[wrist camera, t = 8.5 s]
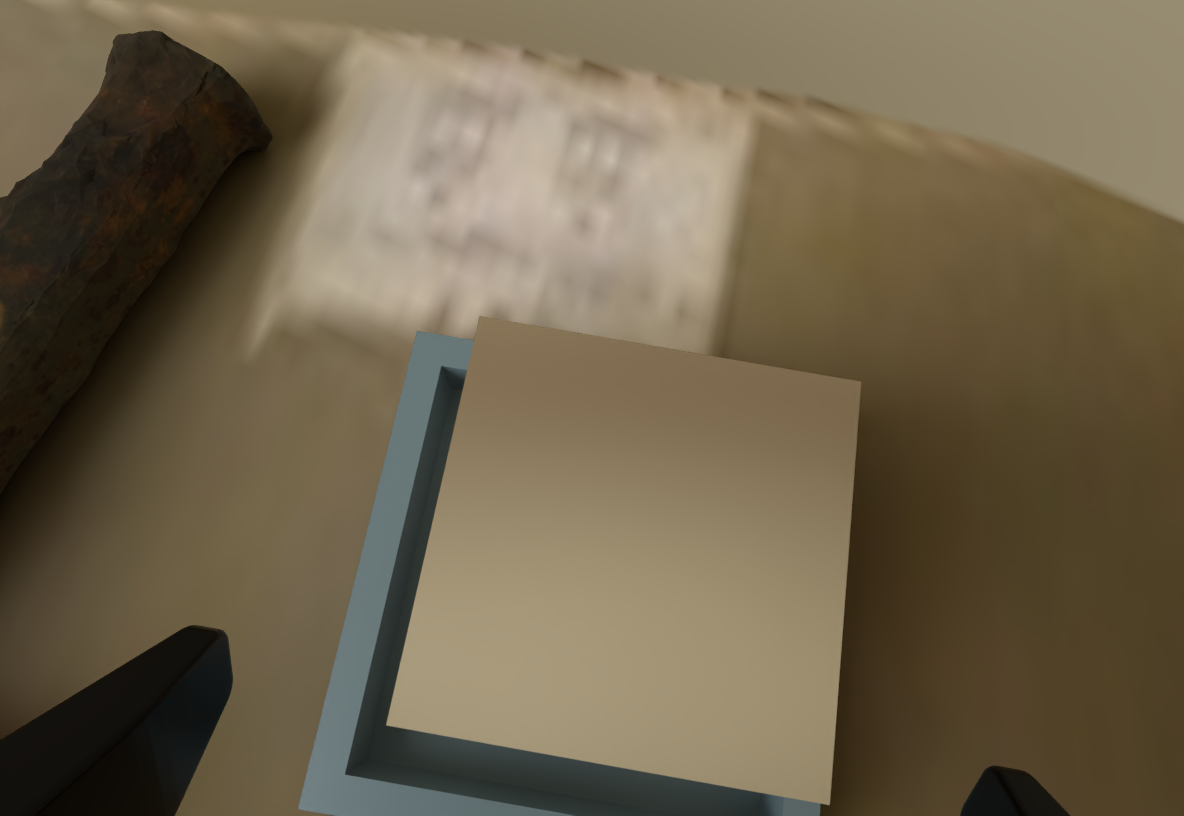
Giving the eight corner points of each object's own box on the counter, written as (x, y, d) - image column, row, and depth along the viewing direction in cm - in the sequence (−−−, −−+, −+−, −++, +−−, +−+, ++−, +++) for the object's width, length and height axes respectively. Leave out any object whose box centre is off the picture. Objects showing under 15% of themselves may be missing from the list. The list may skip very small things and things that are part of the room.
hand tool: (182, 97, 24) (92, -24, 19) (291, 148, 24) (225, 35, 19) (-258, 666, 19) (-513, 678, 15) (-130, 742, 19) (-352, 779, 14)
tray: (780, 865, 18) (813, 900, 16) (333, 785, 18) (298, 808, 16) (818, 429, 21) (850, 403, 19) (433, 363, 22) (417, 330, 19)
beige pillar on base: (677, 715, 19) (883, 878, 7) (477, 678, 19) (315, 776, 7) (703, 513, 20) (911, 345, 8) (516, 481, 20) (442, 264, 8)
